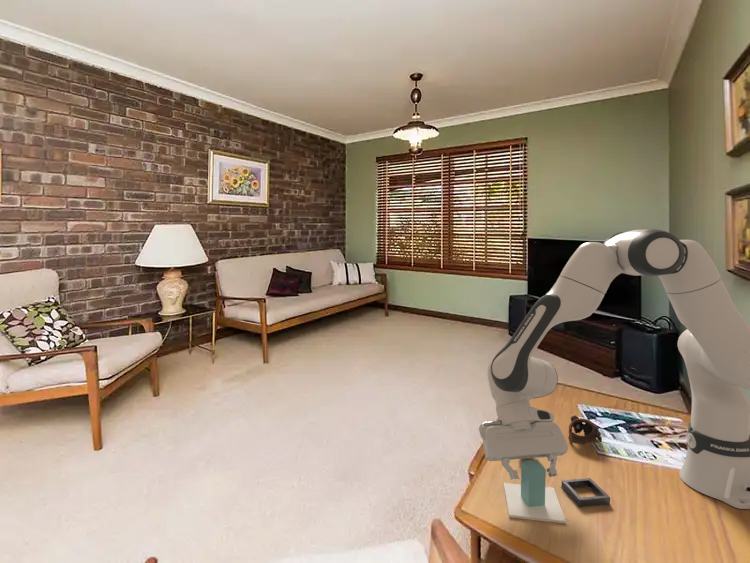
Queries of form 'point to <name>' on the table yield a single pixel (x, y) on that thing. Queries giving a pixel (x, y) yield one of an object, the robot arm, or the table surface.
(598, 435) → the pottery mug
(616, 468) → the table surface
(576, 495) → the metal cradle
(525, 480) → the teal block
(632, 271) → the robot arm
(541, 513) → the white mat
